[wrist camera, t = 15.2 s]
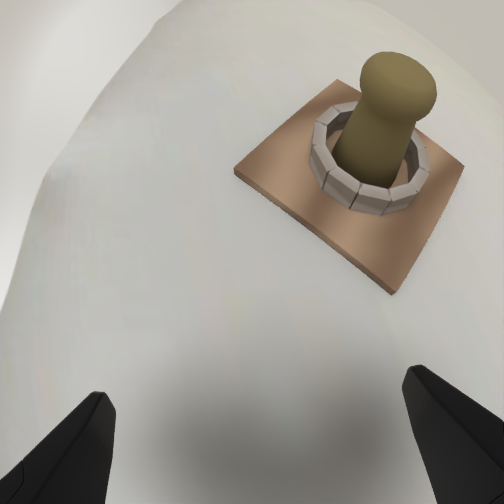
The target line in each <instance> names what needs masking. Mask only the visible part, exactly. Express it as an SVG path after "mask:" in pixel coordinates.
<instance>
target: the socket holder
mask: <svg viewBox="0 0 504 504" xmlns="http://www.w3.org/2000/svg"><path fill="white" fill-rule="evenodd" d="M361 96H362V93H361V92H359V91H358V90H356V89H354V88H352V87H351V86H349V85H347V84H345V83H344V82H342V81H340V80H338V79H337V80H335V81H334V82H333V83H332V84H330V85H329V86H328V87H327V88H325V89H324V90H323V91H322V92H320V93H319V94H318V95H317V96H315V97H314V98H313V99H312V100H311V101H309V102H308V103H307V104H306V105H305V106H303V107H302V108H301V109H300V110H299V111H297V112H296V113H295V114H294V115H293V116H292V117H290V118H289V119H288V120H287V121H286V122H284V123H283V124H282V125H281V126H280V127H279V128H278V129H276V130H275V131H274V132H273V133H272V134H271V135H270V136H268V137H267V138H266V139H265V140H264V141H263V142H262V143H260V144H259V145H258V146H257V147H256V148H255V149H254V150H253V151H252V152H250V153H249V154H248V155H247V156H246V157H245V158H244V159H243V160H242V161H241V162H239V163H238V164H237V165H236V166H235V167H234V174H235V175H236V176H237V177H239V178H240V179H242V180H243V181H244V182H246V183H247V184H249V185H250V186H251V187H253V188H254V189H255V190H257V191H258V192H260V193H261V194H262V195H264V196H265V197H266V198H268V199H269V200H270V201H272V202H273V203H275V204H276V205H277V206H279V207H280V208H281V209H283V210H284V211H285V212H287V213H288V214H289V215H291V216H292V217H293V218H295V219H296V220H297V221H299V222H300V223H301V224H303V225H304V226H305V227H306V228H308V229H309V230H310V231H312V232H313V233H314V234H316V235H317V236H318V237H319V238H321V239H322V240H323V241H325V242H326V243H327V244H328V245H330V246H331V247H332V248H334V249H335V250H336V251H337V252H339V253H340V254H341V255H342V256H344V257H345V258H346V259H347V260H349V261H350V262H351V263H353V264H354V265H355V266H356V267H357V268H359V269H360V270H361V271H362V272H364V273H365V274H366V275H367V276H369V277H370V278H371V279H372V280H374V281H375V282H376V283H377V284H378V285H380V286H381V287H382V288H383V289H384V290H386V291H387V292H388V293H389V294H390V295H392V294H394V293H396V292H397V290H398V289H399V287H400V286H401V284H402V282H403V281H404V279H405V278H406V276H407V274H408V273H409V271H410V269H411V268H412V266H413V264H414V263H415V261H416V259H417V258H418V256H419V254H420V253H421V251H422V249H423V247H424V246H425V244H426V242H427V240H428V239H429V237H430V235H431V233H432V231H433V229H434V228H435V226H436V224H437V222H438V220H439V218H440V216H441V214H442V212H443V211H444V209H445V207H446V205H447V203H448V201H449V199H450V197H451V195H452V193H453V190H454V188H455V186H456V184H457V182H458V180H459V178H460V176H461V173H462V171H463V169H464V167H465V166H464V165H462V164H461V163H460V162H459V161H458V160H457V159H455V158H454V157H453V156H452V155H450V154H449V153H448V152H447V151H445V150H444V149H443V148H442V147H440V146H439V145H438V144H436V143H435V142H434V141H432V140H431V139H430V138H428V137H427V136H426V135H424V134H423V133H422V132H420V131H419V130H418V129H416V128H415V127H414V130H413V133H412V136H411V139H410V142H409V144H408V147H407V150H406V153H405V155H404V158H403V161H402V163H401V166H400V169H399V171H398V174H397V177H396V179H395V181H394V183H393V184H392V186H391V187H390V188H389V189H385V188H381V187H376V186H372V185H368V184H363V183H360V182H359V181H358V180H356V179H355V178H354V177H352V176H351V175H349V174H348V173H347V172H345V171H344V170H342V169H341V168H339V167H338V166H337V164H336V162H335V161H334V159H333V157H332V155H331V153H332V149H333V147H334V146H335V144H336V142H337V140H338V138H339V136H340V135H341V133H342V131H343V129H344V127H345V125H346V124H347V122H348V120H349V118H350V116H351V114H352V112H353V111H354V109H355V107H356V105H357V103H358V101H359V99H360V98H361Z"/></svg>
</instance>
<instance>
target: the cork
mask: <svg viewBox="0 0 504 504" xmlns="http://www.w3.org/2000/svg"><path fill="white" fill-rule="evenodd" d="M360 88H361V91H362V96H361V98H360V99H359V101H358V103H357V105H356V107H355V109H354V111H353V112H352V114H351V116H350V118H349V120H348V122H347V124H346V125H345V127H344V129H343V131H342V133H341V135H340V136H339V138H338V140H337V142H336V144H335V146H334V147H333V149H332V153H331V155H332V157H333V159H334V161H335V162H336V164H337V166H338V167H339V168H341V169H342V170H344V171H345V172H347V173H348V174H349V175H351V176H352V177H354V178H355V179H356V180H358V181H359V182H360V183H363V184H368V185H372V186H376V187H381V188H385V189H389V188H390V187H391V186H392V184H393V183H394V181H395V179H396V177H397V174H398V171H399V169H400V166H401V163H402V161H403V158H404V155H405V153H406V150H407V147H408V144H409V142H410V139H411V136H412V133H413V130H414V127H415V124H416V121H419V120H420V119H422V118H424V117H425V116H426V115H427V114H428V113H430V111H431V109H432V107H433V105H434V103H435V101H436V97H437V91H436V84H435V81H434V79H433V77H432V75H431V74H430V73H429V72H428V70H427V69H426V68H425V67H424V66H422V65H421V64H420V63H419V62H417V61H416V60H414V59H412V58H410V57H408V56H406V55H403V54H400V53H395V52H380V53H377V54H375V55H373V56H371V57H370V58H369V59H368V60H367V61H366V63H365V64H364V66H363V68H362V71H361V76H360Z"/></svg>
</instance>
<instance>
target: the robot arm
mask: <svg viewBox="0 0 504 504" xmlns="http://www.w3.org/2000/svg"><path fill="white" fill-rule="evenodd" d="M402 392H403V396H404V399H405V403H406V407H407V411H408V415H409V419H410V423H411V427H412V430H413V434H414V437H415V439H416V442H417V445H418V448H419V450H420V453H421V456H422V459H423V462H424V464H425V467H426V470H427V473H428V476H429V479H430V482H431V485H432V488H433V491H434V495H435V498H436V501H437V504H504V421H503V420H502V419H500V418H499V417H497V416H496V415H494V414H493V413H491V412H490V411H489V410H487V409H486V408H484V407H483V406H481V405H480V404H478V403H477V402H476V401H474V400H473V399H471V398H470V397H468V396H467V395H465V394H464V393H462V392H461V391H460V390H458V389H457V388H455V387H454V386H452V385H451V384H449V383H448V382H446V381H445V380H444V379H442V378H441V377H439V376H438V375H436V374H435V373H433V372H432V371H430V370H429V369H428V368H426V367H425V366H423V365H415V366H411V367H409V368H408V370H407V373H406V375H405V378H404V381H403V384H402ZM115 421H116V410H115V408H114V406H113V404H112V402H111V401H110V399H109V397H108V395H107V394H106V393H105V392H97V391H94V392H92V393H90V394H89V395H88V396H87V397H86V398H85V399H84V400H83V401H82V402H81V403H80V404H79V405H78V406H77V407H76V408H75V409H74V410H73V411H72V412H71V413H70V414H69V415H68V416H67V417H66V418H65V419H64V420H62V421H61V422H60V423H59V424H58V425H57V426H56V427H55V428H54V429H53V430H52V431H51V432H50V433H49V434H48V435H47V436H46V437H45V438H44V439H43V440H42V441H41V442H40V443H39V444H38V445H37V446H36V447H35V448H34V449H33V450H32V451H31V452H30V453H29V454H28V455H26V456H25V457H24V458H23V461H22V460H21V461H20V462H19V463H18V464H17V465H16V466H15V467H14V468H13V469H12V470H11V471H10V472H9V473H8V474H7V475H5V476H4V477H3V478H2V479H1V480H0V504H105V499H106V493H107V487H108V480H109V475H110V469H111V463H112V457H113V445H114V432H115Z"/></svg>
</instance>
